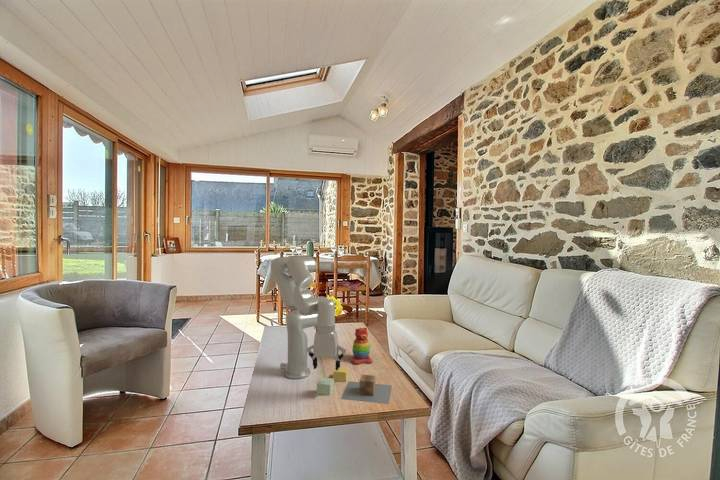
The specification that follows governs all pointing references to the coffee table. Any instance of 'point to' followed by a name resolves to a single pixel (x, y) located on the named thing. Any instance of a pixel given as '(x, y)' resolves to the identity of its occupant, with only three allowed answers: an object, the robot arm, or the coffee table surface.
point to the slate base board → (379, 396)
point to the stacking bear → (361, 347)
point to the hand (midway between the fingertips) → (326, 368)
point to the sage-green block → (325, 386)
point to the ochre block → (341, 374)
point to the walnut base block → (367, 385)
